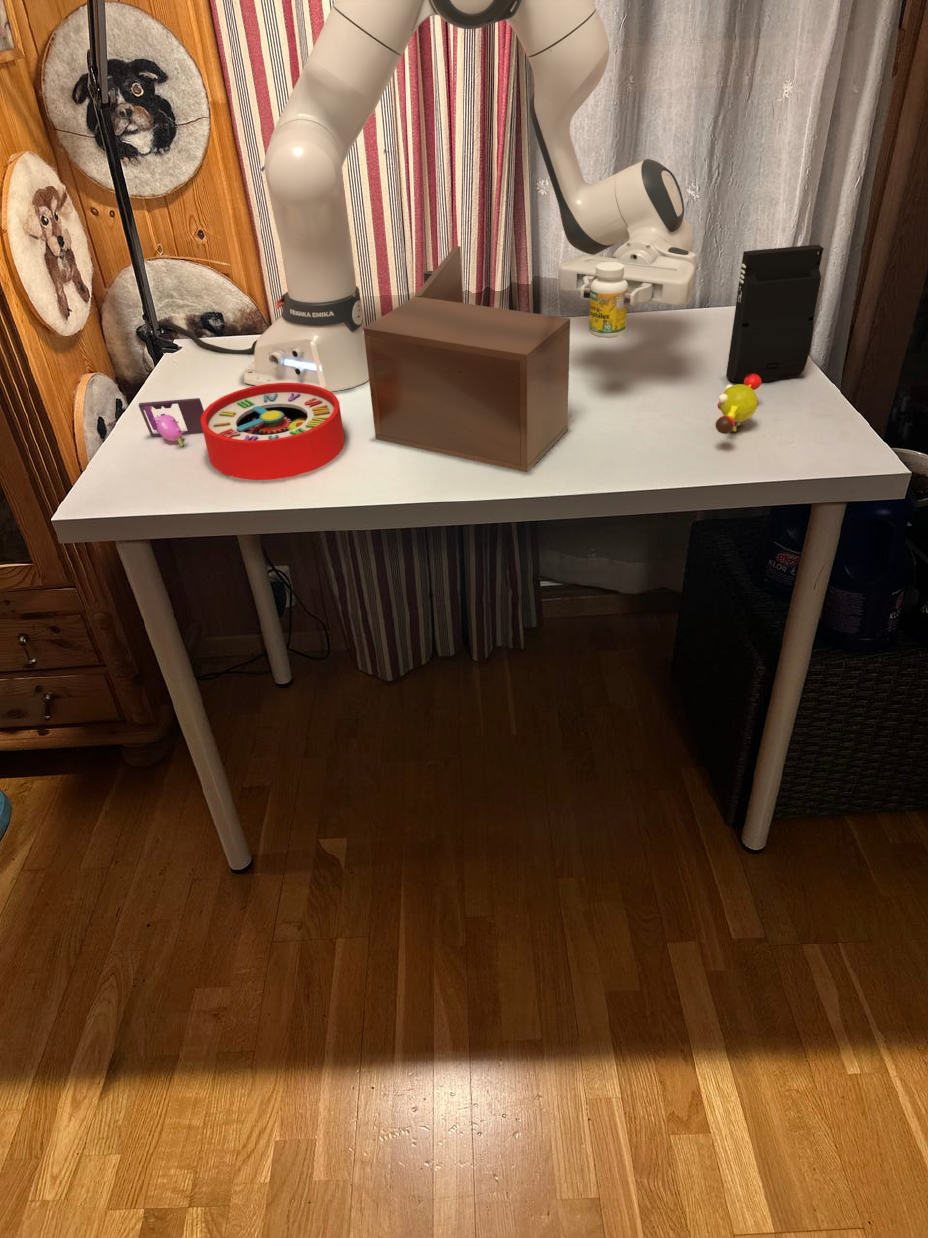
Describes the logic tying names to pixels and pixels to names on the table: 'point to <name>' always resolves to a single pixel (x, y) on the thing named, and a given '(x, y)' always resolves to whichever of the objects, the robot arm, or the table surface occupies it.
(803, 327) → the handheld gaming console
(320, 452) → the toy clock
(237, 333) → the table surface
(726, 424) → the toy figure
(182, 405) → the pink toy with backboard
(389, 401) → the cabinet
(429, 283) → the cabinet door
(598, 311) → the supplement bottle
